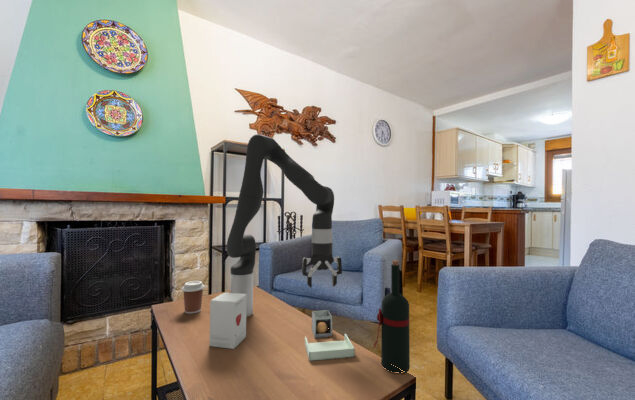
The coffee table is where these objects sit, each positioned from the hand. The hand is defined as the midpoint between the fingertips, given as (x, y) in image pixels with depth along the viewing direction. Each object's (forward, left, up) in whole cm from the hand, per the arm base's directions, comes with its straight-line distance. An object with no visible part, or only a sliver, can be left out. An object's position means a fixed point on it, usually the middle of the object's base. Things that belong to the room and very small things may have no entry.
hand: (321, 286), depth 101 cm
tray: (+12, 0, -17) cm, 21 cm away
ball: (0, 0, -15) cm, 15 cm away
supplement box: (+1, -32, -17) cm, 36 cm away
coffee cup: (-30, -51, -17) cm, 62 cm away
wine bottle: (+23, +16, -17) cm, 33 cm away
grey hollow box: (0, 0, -17) cm, 17 cm away
